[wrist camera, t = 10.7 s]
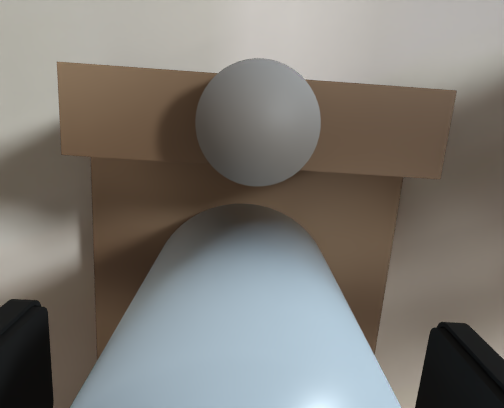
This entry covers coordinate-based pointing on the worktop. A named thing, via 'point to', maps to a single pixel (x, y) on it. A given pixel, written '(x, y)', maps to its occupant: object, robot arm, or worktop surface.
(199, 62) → the worktop surface
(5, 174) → the worktop surface
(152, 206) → the cradle
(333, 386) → the pale blue rounded cylinder
